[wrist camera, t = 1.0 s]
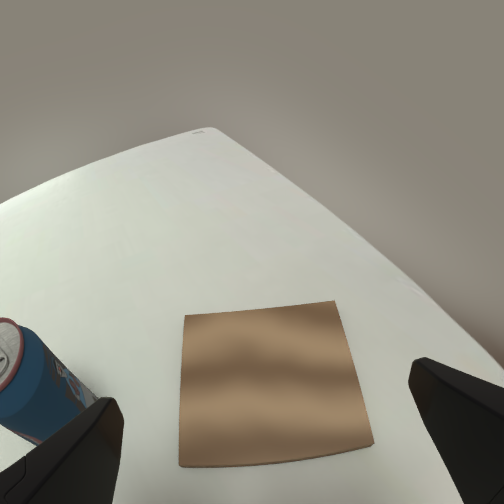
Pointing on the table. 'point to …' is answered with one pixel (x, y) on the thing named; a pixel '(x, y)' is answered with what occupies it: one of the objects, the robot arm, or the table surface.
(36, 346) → the soda can
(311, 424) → the coaster board
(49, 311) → the table surface
